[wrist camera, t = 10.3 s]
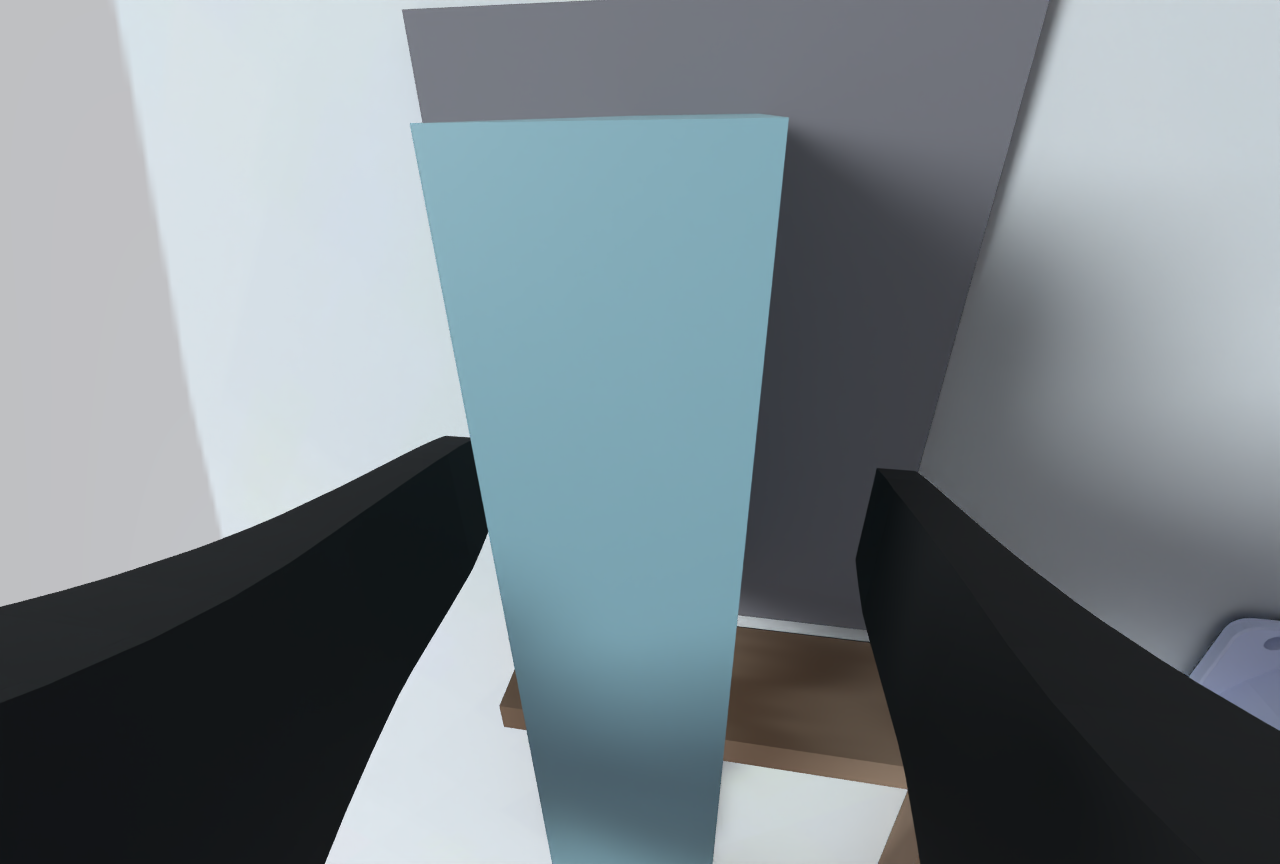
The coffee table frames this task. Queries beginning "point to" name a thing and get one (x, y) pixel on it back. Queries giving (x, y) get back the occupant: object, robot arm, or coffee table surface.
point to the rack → (805, 717)
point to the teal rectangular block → (613, 440)
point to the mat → (797, 211)
